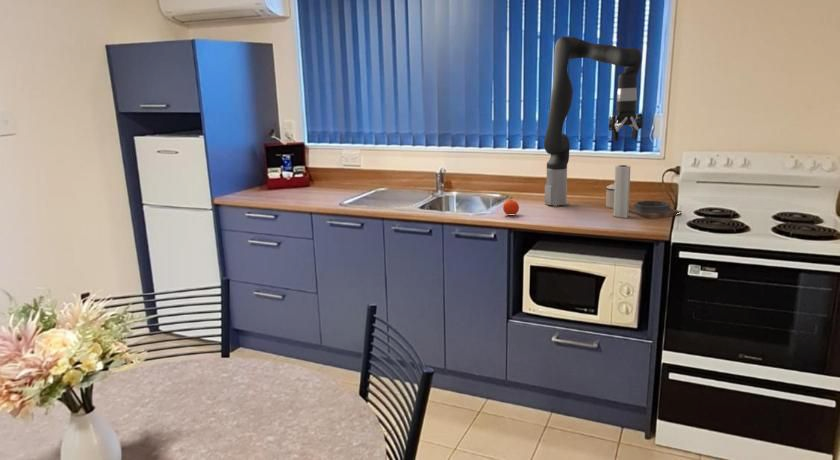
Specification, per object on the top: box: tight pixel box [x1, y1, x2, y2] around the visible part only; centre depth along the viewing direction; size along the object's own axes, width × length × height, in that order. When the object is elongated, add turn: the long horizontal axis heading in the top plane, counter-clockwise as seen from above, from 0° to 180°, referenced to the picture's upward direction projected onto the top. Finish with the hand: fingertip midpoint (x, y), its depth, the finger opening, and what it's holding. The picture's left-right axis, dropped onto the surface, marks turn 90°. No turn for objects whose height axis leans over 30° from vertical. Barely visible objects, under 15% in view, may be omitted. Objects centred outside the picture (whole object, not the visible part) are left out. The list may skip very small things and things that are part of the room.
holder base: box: [629, 200, 682, 220], centre depth 250 cm, size 16×17×4 cm
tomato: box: [502, 199, 520, 215], centre depth 258 cm, size 8×7×7 cm
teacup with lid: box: [605, 181, 615, 209], centre depth 266 cm, size 12×9×12 cm
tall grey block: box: [613, 164, 631, 219], centre depth 244 cm, size 7×6×21 cm
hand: (625, 140), depth 239 cm, fingers open, 8 cm apart
